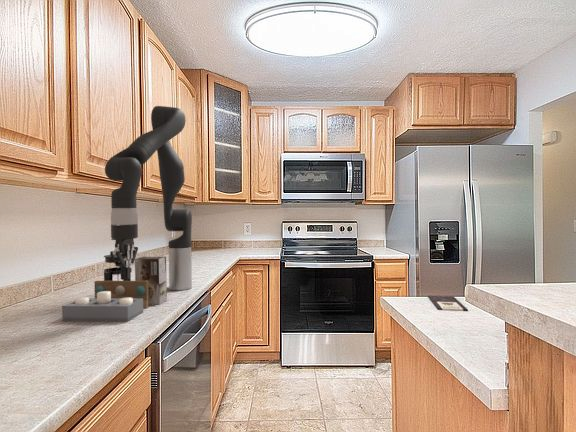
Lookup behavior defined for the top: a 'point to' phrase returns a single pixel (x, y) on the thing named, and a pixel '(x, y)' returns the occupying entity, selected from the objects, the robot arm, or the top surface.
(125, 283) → the placard
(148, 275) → the coffee box
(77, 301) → the button
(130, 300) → the button
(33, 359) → the top surface
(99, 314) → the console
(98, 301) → the button
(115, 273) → the french press
